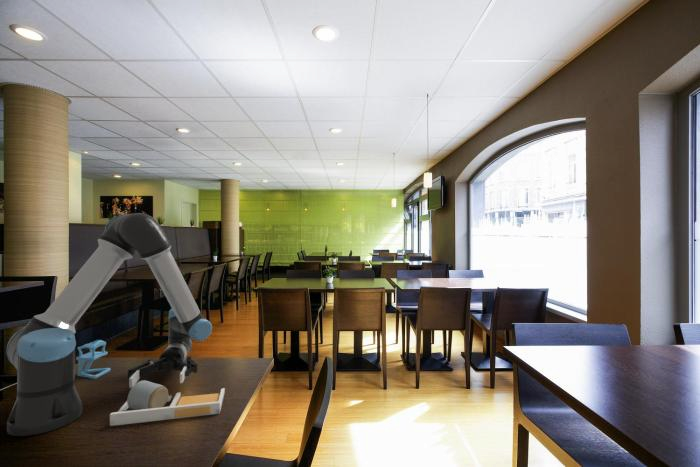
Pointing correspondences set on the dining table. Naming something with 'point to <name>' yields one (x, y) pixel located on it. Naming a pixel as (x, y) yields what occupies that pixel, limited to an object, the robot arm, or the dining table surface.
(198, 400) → the bay rack
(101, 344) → the chair
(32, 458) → the dining table surface
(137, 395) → the ceramic mug
